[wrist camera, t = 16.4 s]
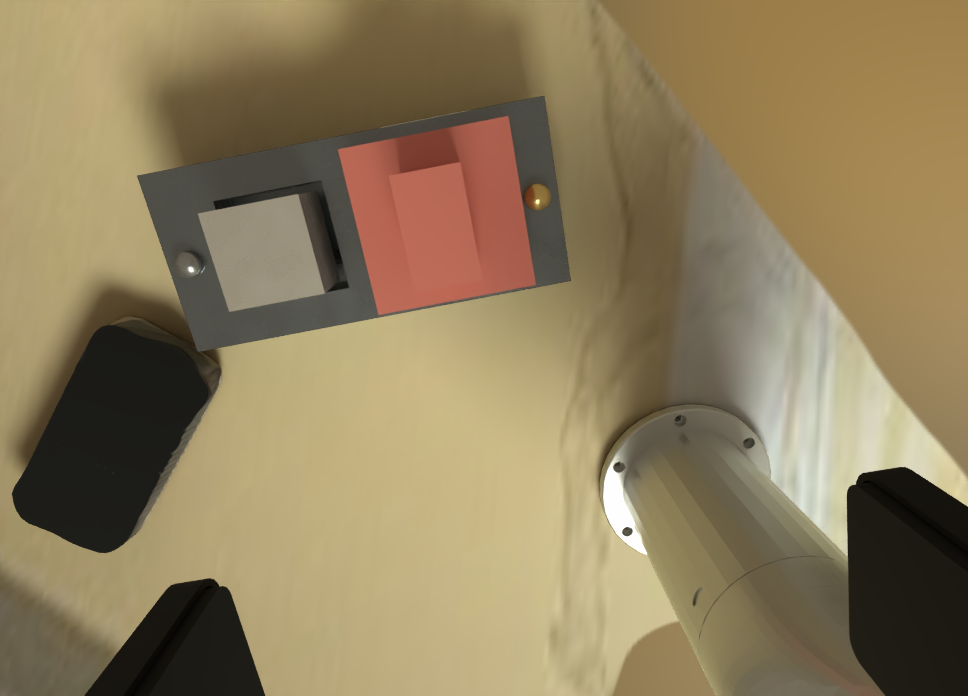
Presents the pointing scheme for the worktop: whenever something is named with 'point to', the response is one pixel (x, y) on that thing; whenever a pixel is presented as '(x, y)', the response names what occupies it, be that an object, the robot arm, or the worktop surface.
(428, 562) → the worktop surface
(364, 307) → the panel
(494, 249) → the cap
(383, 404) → the worktop surface
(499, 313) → the worktop surface
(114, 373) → the black sponge
